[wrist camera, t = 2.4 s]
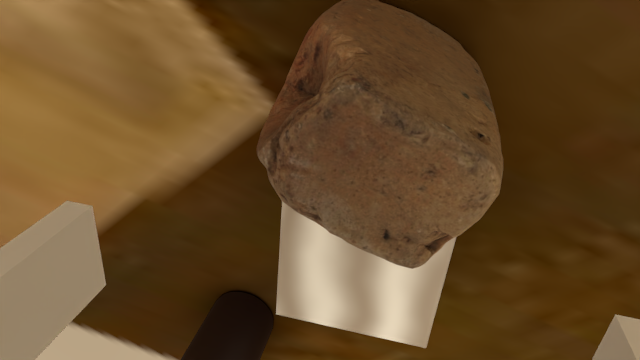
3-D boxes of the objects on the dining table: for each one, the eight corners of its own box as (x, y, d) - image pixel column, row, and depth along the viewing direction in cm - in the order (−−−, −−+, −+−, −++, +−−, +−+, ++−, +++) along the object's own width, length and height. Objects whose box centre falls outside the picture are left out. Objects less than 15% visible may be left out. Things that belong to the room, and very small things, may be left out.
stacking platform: (287, 286, 47) (275, 314, 44) (295, 163, 41) (283, 184, 37) (426, 316, 45) (425, 348, 42) (459, 192, 39) (461, 217, 35)
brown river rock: (487, 56, 34) (543, 184, 16) (425, 136, 37) (417, 310, 20) (359, -28, 33) (275, 13, 16) (309, 63, 37) (196, 177, 19)
